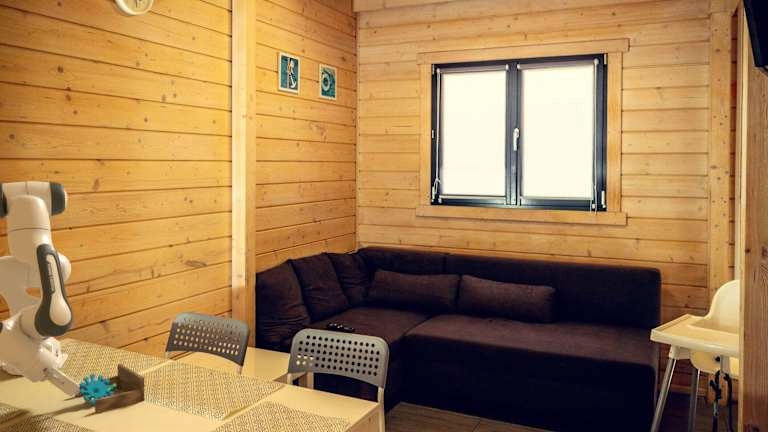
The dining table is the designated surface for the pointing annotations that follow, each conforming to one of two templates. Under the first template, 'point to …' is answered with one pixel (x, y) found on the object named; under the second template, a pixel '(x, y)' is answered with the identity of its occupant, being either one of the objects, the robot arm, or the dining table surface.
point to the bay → (127, 382)
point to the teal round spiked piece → (96, 388)
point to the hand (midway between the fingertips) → (77, 391)
